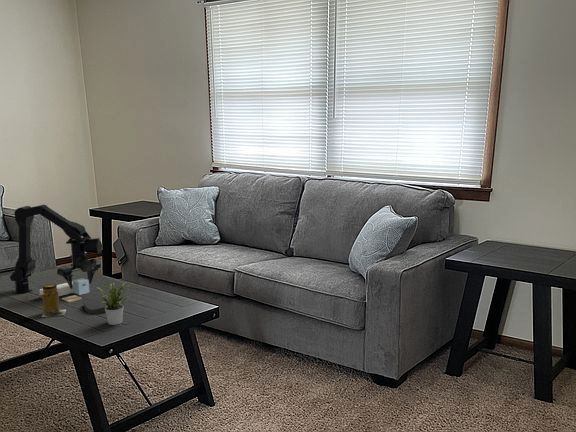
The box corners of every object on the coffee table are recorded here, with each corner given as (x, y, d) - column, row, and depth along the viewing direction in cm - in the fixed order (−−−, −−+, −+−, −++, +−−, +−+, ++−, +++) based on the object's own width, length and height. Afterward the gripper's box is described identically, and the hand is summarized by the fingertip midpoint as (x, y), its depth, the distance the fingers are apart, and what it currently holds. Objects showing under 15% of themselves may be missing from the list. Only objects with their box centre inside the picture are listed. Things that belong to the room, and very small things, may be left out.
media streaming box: (89, 316, 220) (88, 309, 220) (82, 306, 233) (81, 299, 232) (125, 309, 228) (125, 302, 227) (117, 300, 240) (116, 293, 240)
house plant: (144, 322, 212) (141, 281, 209) (111, 332, 202) (109, 290, 199) (124, 313, 222) (121, 275, 219) (92, 323, 211) (89, 282, 209)
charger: (71, 292, 251) (70, 279, 250) (81, 289, 255) (80, 277, 254) (79, 295, 246) (78, 282, 245) (89, 292, 250) (88, 279, 249)
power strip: (26, 300, 239) (26, 292, 239) (79, 286, 258) (78, 279, 258) (36, 304, 234) (35, 296, 233) (89, 290, 253) (88, 282, 253)
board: (61, 299, 240) (61, 298, 240) (74, 296, 244) (74, 295, 244) (69, 302, 236) (68, 301, 236) (81, 299, 241) (81, 297, 241)
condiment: (44, 311, 225) (42, 283, 223) (66, 309, 227) (64, 282, 225) (41, 317, 218) (38, 288, 216) (63, 315, 220) (61, 287, 218)
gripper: (68, 259, 235) (71, 294, 237) (106, 251, 249) (108, 284, 252) (55, 255, 242) (58, 289, 244) (93, 248, 256) (95, 280, 258)
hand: (80, 286), depth 249 cm, fingers open, 9 cm apart
